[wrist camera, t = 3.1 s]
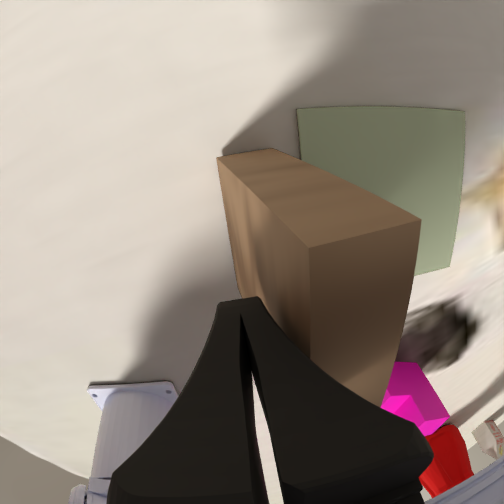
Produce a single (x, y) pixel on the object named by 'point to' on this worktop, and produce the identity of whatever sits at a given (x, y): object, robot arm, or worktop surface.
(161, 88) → the worktop surface
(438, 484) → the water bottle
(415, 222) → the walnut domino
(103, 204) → the worktop surface
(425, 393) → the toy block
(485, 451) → the white paper bag
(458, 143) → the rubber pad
